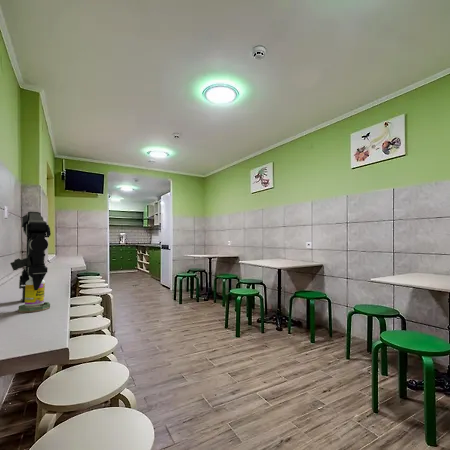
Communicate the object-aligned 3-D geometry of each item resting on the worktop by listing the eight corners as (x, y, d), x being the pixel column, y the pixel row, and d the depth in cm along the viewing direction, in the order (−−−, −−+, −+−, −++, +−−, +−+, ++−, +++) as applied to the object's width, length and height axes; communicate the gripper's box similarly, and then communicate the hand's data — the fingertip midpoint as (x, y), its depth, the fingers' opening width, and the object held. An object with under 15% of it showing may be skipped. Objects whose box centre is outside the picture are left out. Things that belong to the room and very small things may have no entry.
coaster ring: (17, 309, 113) (17, 304, 113) (48, 305, 120) (48, 301, 120) (18, 314, 105) (18, 309, 105) (51, 309, 112) (51, 305, 112)
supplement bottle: (35, 307, 109) (36, 274, 110) (20, 306, 110) (21, 274, 110) (47, 303, 116) (49, 273, 116) (33, 303, 116) (34, 272, 117)
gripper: (11, 251, 116) (9, 288, 115) (13, 252, 102) (11, 294, 101) (42, 250, 123) (41, 285, 122) (48, 251, 109) (46, 291, 108)
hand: (35, 289), depth 113 cm, fingers closed on supplement bottle, 7 cm apart
